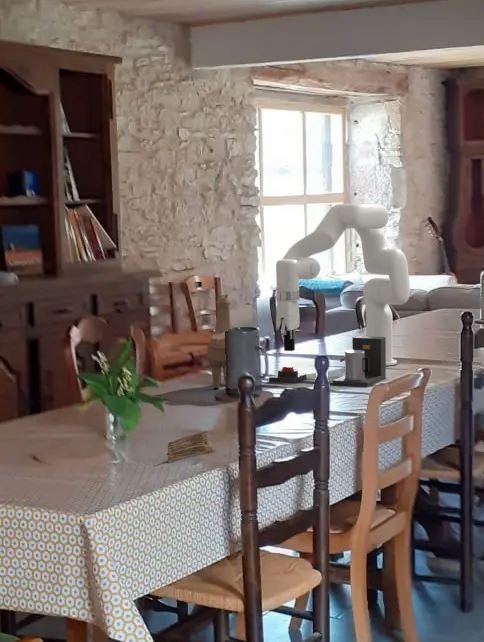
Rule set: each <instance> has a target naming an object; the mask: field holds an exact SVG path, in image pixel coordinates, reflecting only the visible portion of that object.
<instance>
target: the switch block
mask: <svg viewBox="0 0 484 642" xmlns="http://www.w3.org/2000/svg"><path fill="white" fill-rule="evenodd" d="M305 380H307V373H300V372H299V370H298V369H296V368H293V371H282V368H281V369H278V370H277V374H274V375H271V376H269V377H268V381H269V383H273V384H274V383H277V384H289V385H290V384H293V385H295V384H296V383H300V382H302V381H305Z"/></svg>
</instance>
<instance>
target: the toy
mask: <svg viewBox="0 0 484 642" xmlns="http://www.w3.org/2000/svg"><path fill="white" fill-rule="evenodd" d="M217 295H218V299H217V300H216V302H215V304H216V306H217V307H216V308H217V310H216V311H217V312H216V321H215V322H216V323H215V328H214V332H213V333H214V334H212V335H211V337H210V341H209V342H208V345H207V350H206V358H207V361H208V363H209V365H210V368H211V375H212V383H213V390H216V391H217V390H219V389H220V386H221V384H222V375H223V381H224V382H225V380H226V376H225V362H226V354H225V332H226V331H227V330H229V329H233V325H232V321H231V320H232V319H231V313H230V312H231V311H230V308H231V307H230V306H231V302H232V301H231V300H230V298H229V293H225V294H221V293H218V294H217Z"/></svg>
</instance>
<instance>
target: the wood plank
mask: <svg viewBox="0 0 484 642" xmlns="http://www.w3.org/2000/svg"><path fill="white" fill-rule="evenodd" d="M211 452H213V447H212V446H211V445H210V444H209V440H208V436H207V431H202V432H198V433H195V434H190V435H187V436H183V437H180V438H177V439H174V440H172V441H170V442H168V444H167V453H166V455H167V463H168V464H169V463H172V462H174V461H178V460H181V459H185V458H188V457H194V456H197V455H202V454H207V453H211Z"/></svg>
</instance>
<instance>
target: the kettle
mask: <svg viewBox="0 0 484 642" xmlns="http://www.w3.org/2000/svg"><path fill="white" fill-rule="evenodd" d="M365 360H366V369H365ZM339 362H340V363H343V362H344V375H345V379H348V380H363V379H365V372H369V358H368V357H365V351H362V350H353V349H350V350H349V349H348V350H345V351H344V356H342V357H341V358H340V359H339Z"/></svg>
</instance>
